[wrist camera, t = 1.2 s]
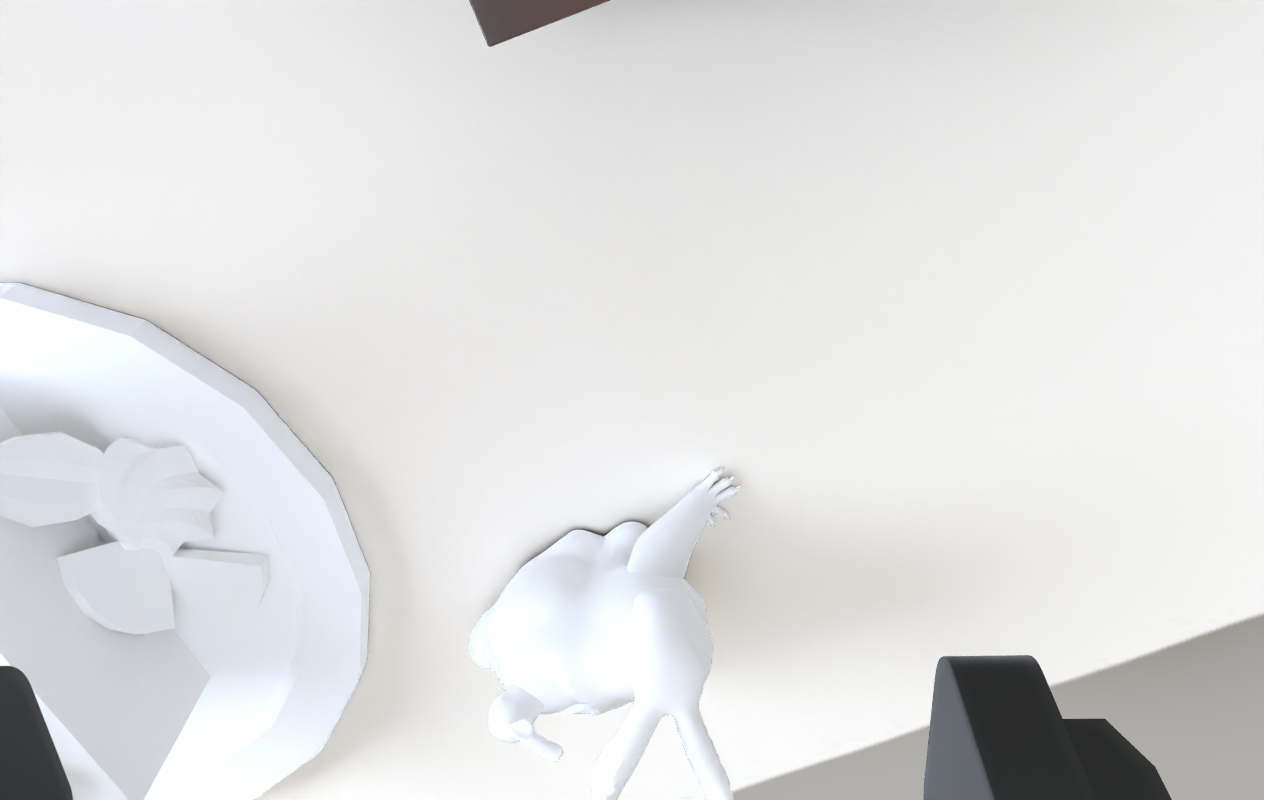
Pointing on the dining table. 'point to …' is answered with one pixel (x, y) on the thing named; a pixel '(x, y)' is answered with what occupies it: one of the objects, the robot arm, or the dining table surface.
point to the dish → (166, 561)
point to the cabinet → (523, 15)
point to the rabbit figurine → (609, 640)
